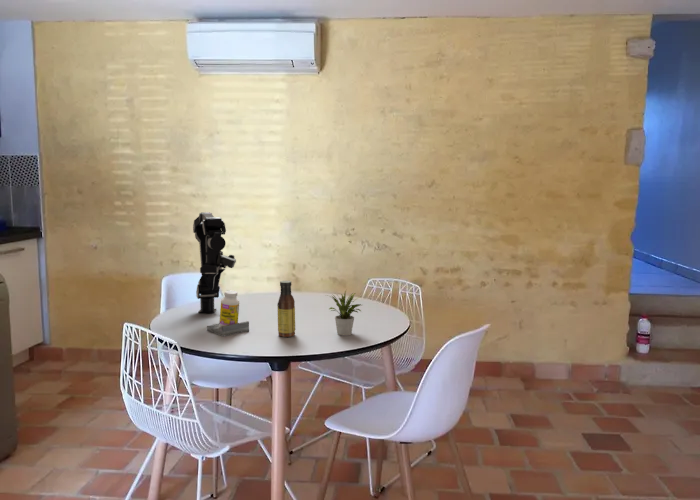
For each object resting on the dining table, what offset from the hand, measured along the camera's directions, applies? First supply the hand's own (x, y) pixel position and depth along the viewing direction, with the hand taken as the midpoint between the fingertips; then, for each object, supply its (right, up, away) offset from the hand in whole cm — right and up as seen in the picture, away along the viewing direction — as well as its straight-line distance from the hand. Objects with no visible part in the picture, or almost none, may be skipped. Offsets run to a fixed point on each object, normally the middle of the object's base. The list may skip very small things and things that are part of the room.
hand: (214, 288), depth 213 cm
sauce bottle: (+31, -16, -18) cm, 39 cm away
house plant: (+50, -16, -15) cm, 55 cm away
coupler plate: (+8, -15, -12) cm, 21 cm away
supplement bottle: (+8, -13, -12) cm, 20 cm away
